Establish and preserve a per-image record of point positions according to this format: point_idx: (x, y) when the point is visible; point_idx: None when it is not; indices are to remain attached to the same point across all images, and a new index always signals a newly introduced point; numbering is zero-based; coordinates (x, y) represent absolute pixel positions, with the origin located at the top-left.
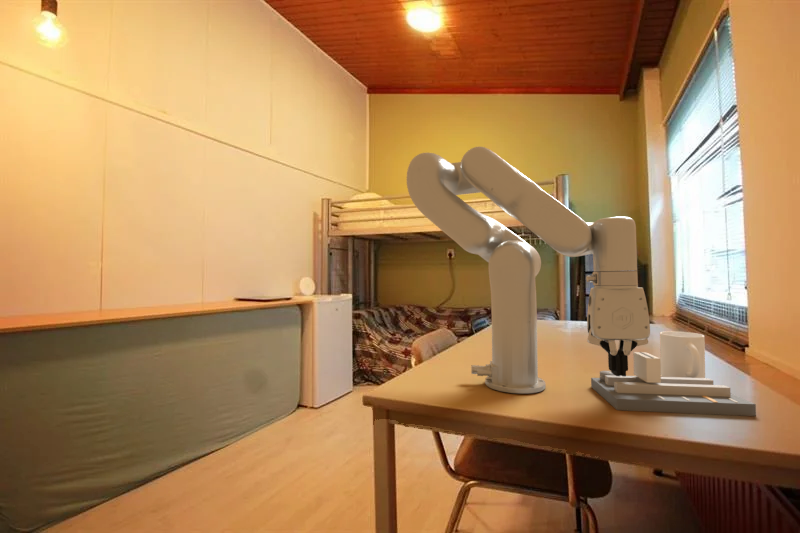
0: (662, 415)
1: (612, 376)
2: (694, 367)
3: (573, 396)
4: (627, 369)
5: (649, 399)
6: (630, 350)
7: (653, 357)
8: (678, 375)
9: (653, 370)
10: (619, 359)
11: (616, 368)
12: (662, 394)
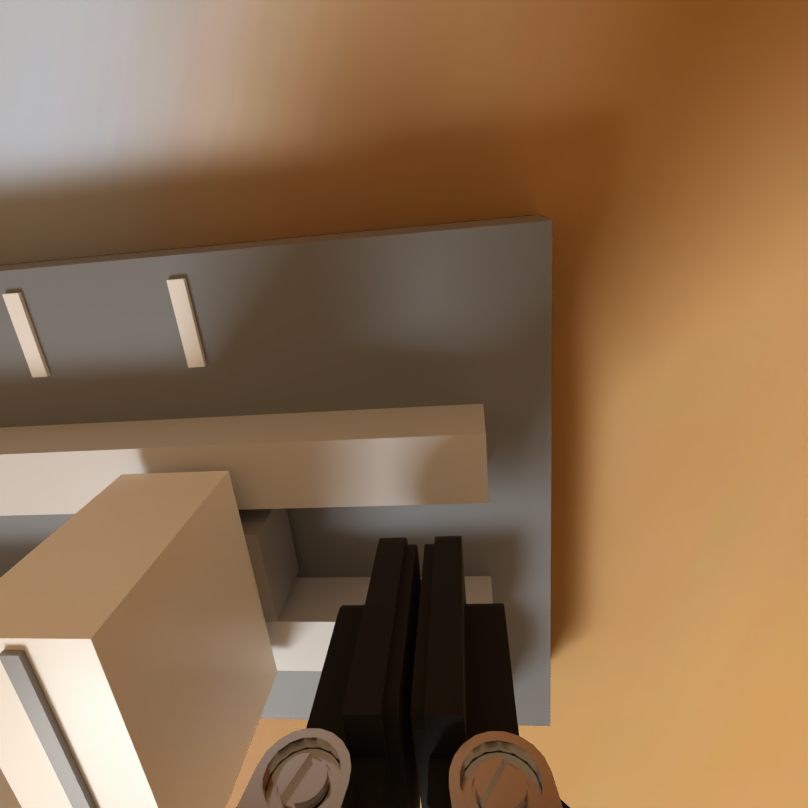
0: (249, 169)
1: None
2: None
3: (751, 475)
4: (344, 608)
5: (284, 260)
6: (240, 804)
7: (6, 683)
8: (15, 805)
9: (111, 536)
10: (426, 670)
11: (462, 594)
12: (163, 413)
